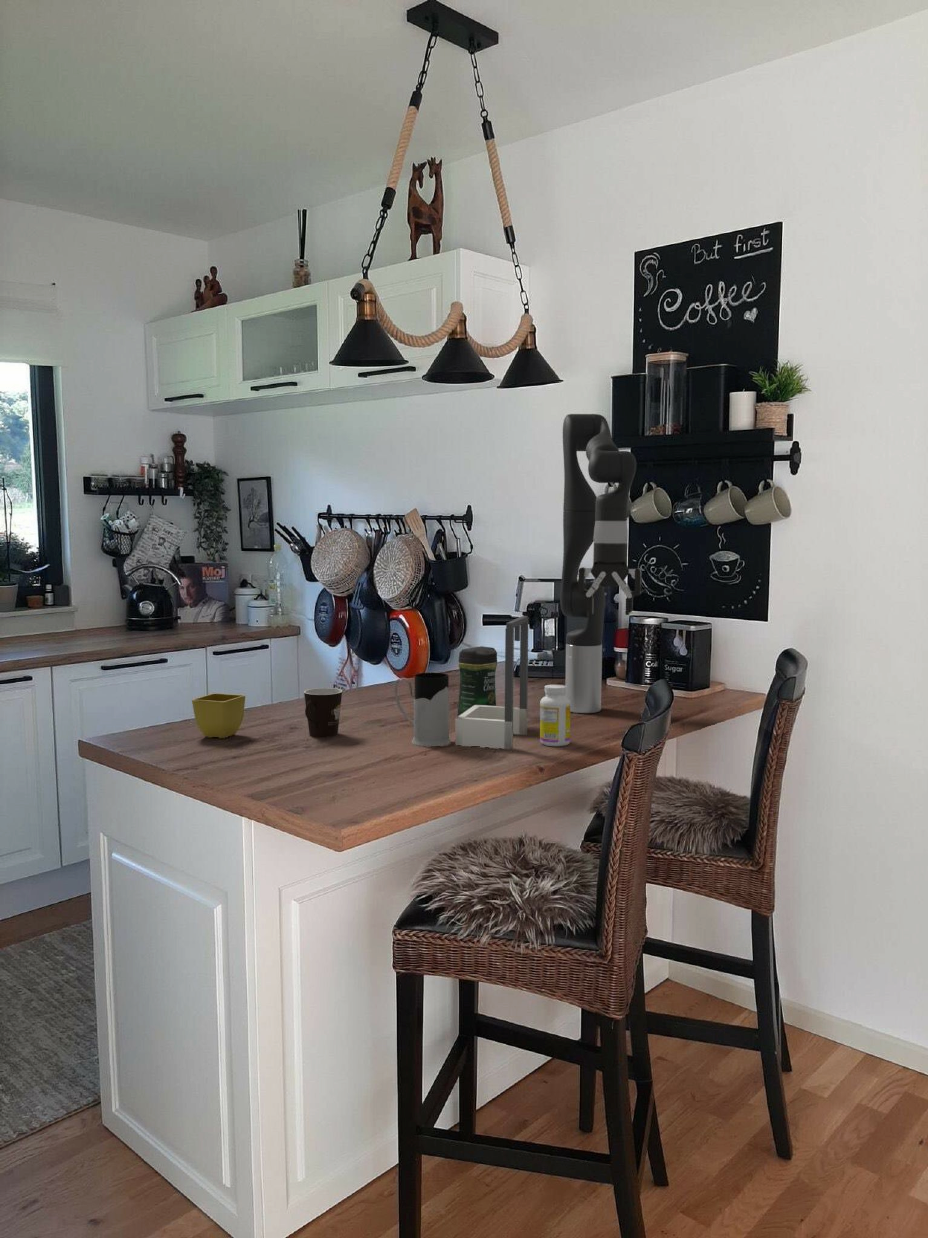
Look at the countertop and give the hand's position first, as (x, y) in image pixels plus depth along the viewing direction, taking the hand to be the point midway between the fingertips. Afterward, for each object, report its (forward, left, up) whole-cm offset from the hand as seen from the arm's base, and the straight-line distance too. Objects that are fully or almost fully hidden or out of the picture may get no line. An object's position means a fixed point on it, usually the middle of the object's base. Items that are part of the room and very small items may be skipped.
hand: (609, 614), depth 218 cm
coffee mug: (+19, -63, -28) cm, 72 cm away
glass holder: (+17, -39, -28) cm, 51 cm away
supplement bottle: (+11, -10, -28) cm, 32 cm away
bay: (+11, -24, -28) cm, 38 cm away
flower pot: (+26, -84, -28) cm, 92 cm away
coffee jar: (-5, -32, -28) cm, 43 cm away
